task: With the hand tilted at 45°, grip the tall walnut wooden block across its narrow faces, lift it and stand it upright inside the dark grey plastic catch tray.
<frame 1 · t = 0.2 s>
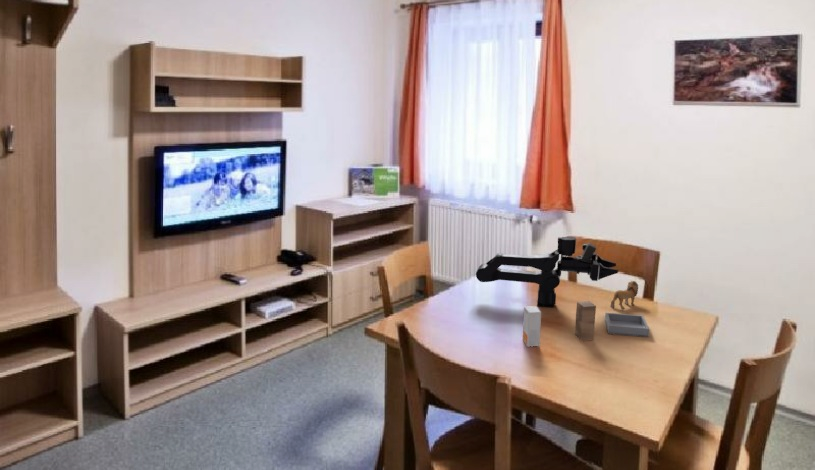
hand: (617, 268, 231), 17 cm above the table, tool horizontal, fingers open, 9 cm apart
walnut block: (583, 337, 209), on the table
catch tray: (625, 328, 217), on the table
lion figurine: (623, 305, 241), on the table
skincare box: (530, 343, 204), on the table
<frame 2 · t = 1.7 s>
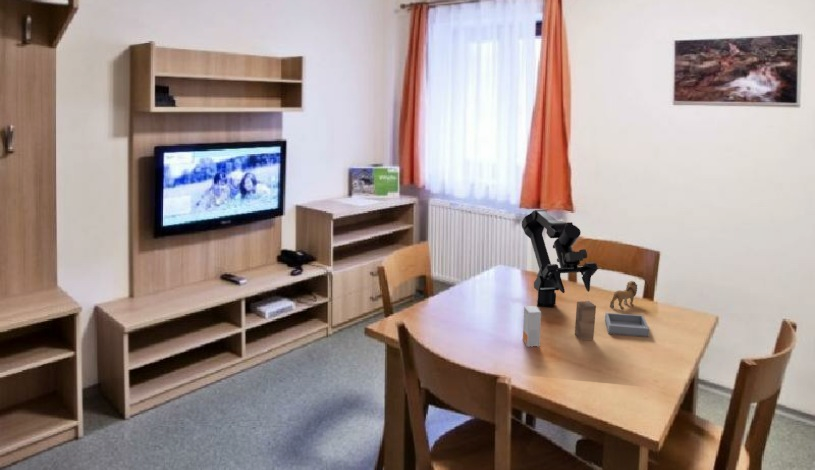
hand: (576, 291, 213), 14 cm above the table, tool tilted 45°, fingers open, 9 cm apart
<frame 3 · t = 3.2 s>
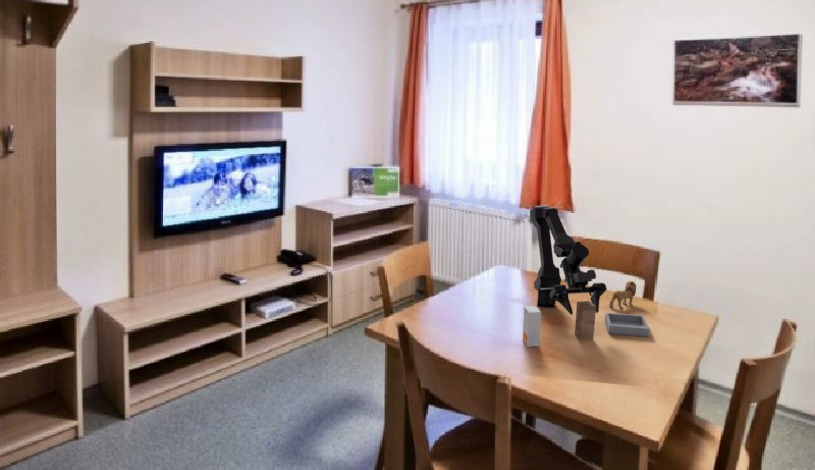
hand: (584, 313, 207), 8 cm above the table, tool tilted 45°, fingers open, 9 cm apart
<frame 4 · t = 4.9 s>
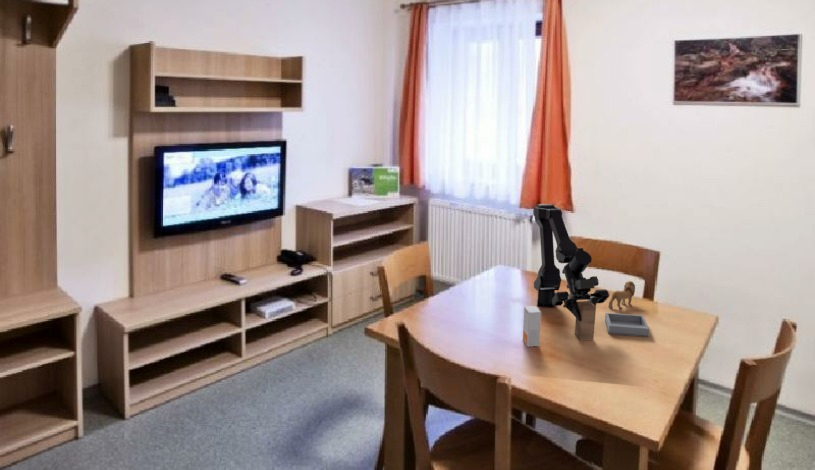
hand: (587, 320, 206), 7 cm above the table, tool tilted 45°, fingers closed on walnut block, 4 cm apart
walnut block: (583, 337, 209), on the table, touching gripper
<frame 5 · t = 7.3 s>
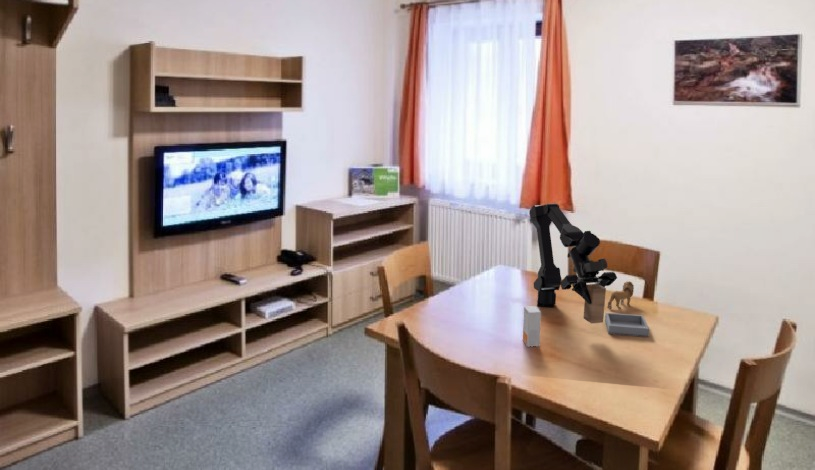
hand: (596, 303, 205), 12 cm above the table, tool tilted 45°, fingers closed on walnut block, 4 cm apart
walnut block: (593, 320, 208), point 6 cm above the table, touching gripper
when the fingers open (8 cm above the table, at t = 10.0 s): walnut block drops 1 cm, resting on catch tray.
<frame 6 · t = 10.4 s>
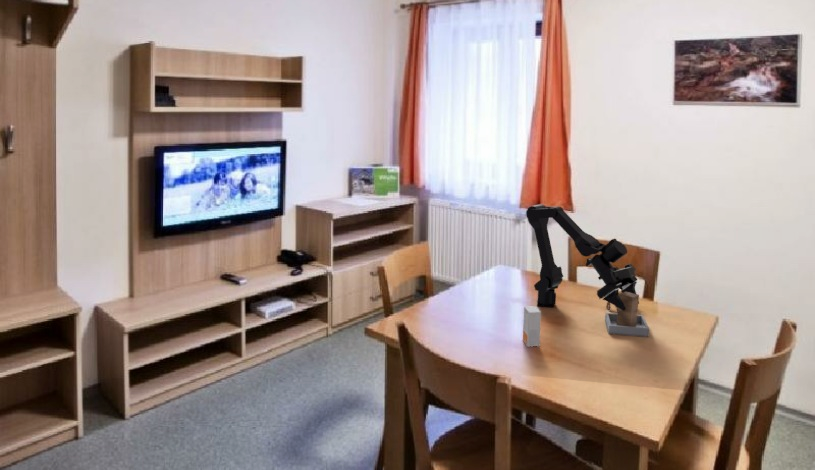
hand: (631, 307, 214), 8 cm above the table, tool tilted 45°, fingers open, 9 cm apart
walnut block: (626, 326, 217), point 1 cm above the table, touching catch tray
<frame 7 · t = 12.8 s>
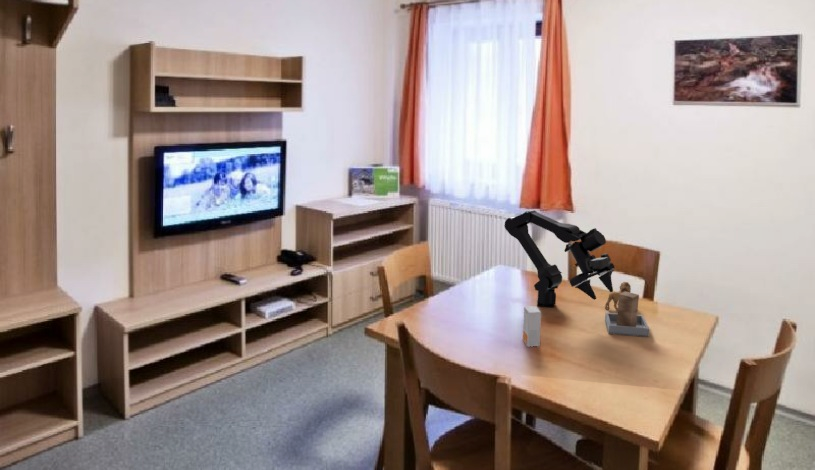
hand: (603, 295, 221), 10 cm above the table, tool tilted 40°, fingers open, 9 cm apart
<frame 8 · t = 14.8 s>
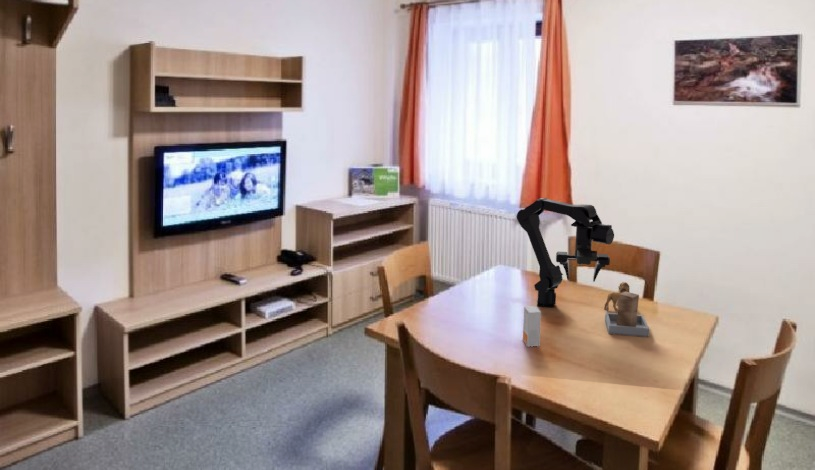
hand: (580, 280, 228), 13 cm above the table, tool pointing down, fingers open, 9 cm apart
at the end: walnut block inside the target area on the catch tray (0.1 cm from its centre), point 0.6 cm above the catch tray's base; walnut block tilted 0°; the gripper is holding nothing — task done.
